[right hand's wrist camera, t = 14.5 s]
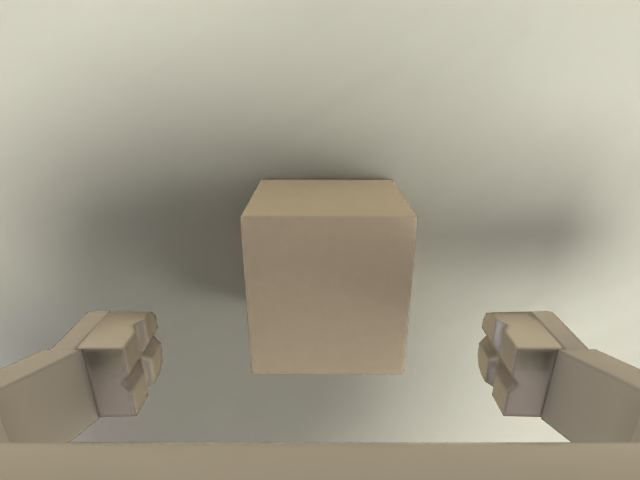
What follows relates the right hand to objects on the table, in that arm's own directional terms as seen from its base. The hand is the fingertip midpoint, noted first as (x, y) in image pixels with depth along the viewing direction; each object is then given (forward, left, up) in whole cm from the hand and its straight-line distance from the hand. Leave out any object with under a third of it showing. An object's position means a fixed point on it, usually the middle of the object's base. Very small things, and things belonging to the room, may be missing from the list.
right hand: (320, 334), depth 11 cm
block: (0, 0, -6) cm, 6 cm away
